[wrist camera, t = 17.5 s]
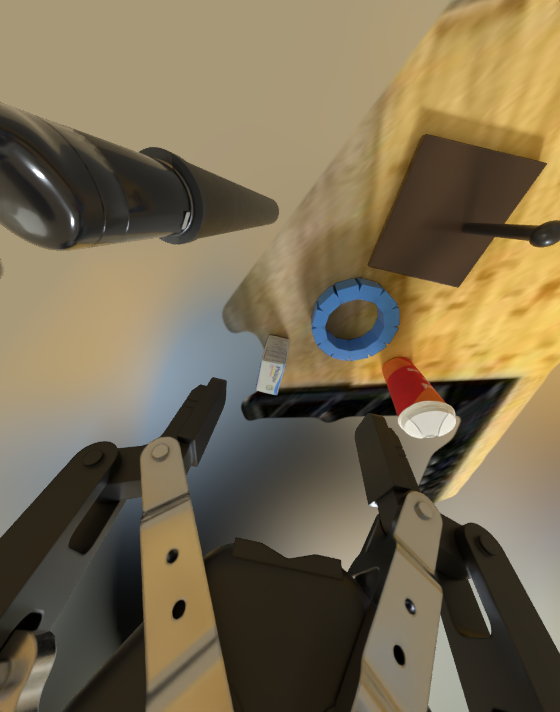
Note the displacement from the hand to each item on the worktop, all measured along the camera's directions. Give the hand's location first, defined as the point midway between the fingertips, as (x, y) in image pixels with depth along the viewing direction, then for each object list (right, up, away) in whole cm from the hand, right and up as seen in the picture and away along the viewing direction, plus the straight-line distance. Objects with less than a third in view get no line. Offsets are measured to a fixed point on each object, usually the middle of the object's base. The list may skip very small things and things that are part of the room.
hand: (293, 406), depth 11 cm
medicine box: (-2, +4, +32) cm, 32 cm away
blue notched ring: (+12, +10, +25) cm, 29 cm away
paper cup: (+23, +1, +30) cm, 38 cm away
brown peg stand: (+21, +21, +16) cm, 34 cm away
